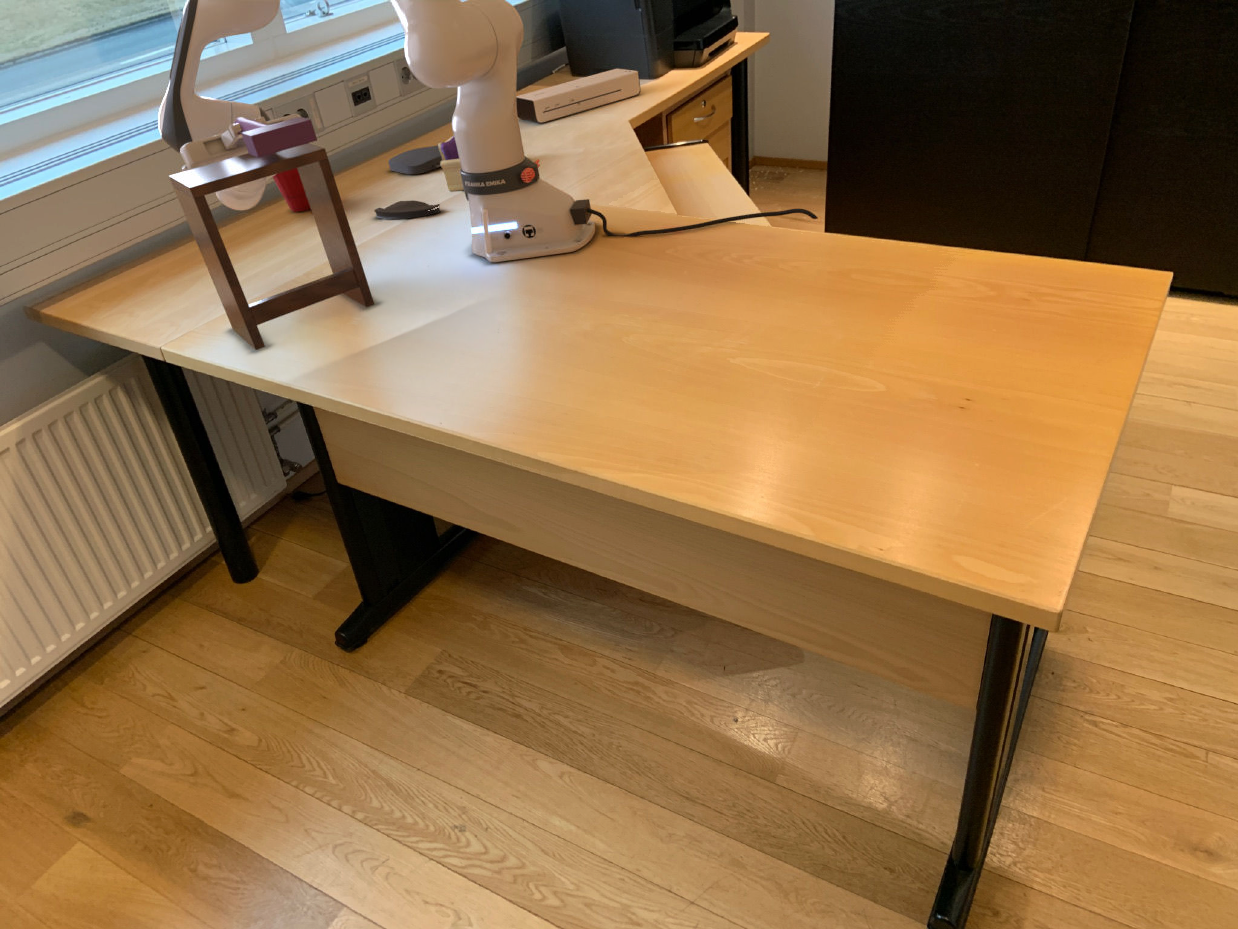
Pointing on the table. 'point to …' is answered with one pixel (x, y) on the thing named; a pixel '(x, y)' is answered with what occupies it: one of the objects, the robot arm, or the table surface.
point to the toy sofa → (451, 164)
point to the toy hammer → (275, 135)
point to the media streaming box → (416, 160)
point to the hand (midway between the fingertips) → (249, 125)
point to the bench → (326, 216)
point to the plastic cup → (292, 190)
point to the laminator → (578, 95)
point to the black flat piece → (406, 210)
